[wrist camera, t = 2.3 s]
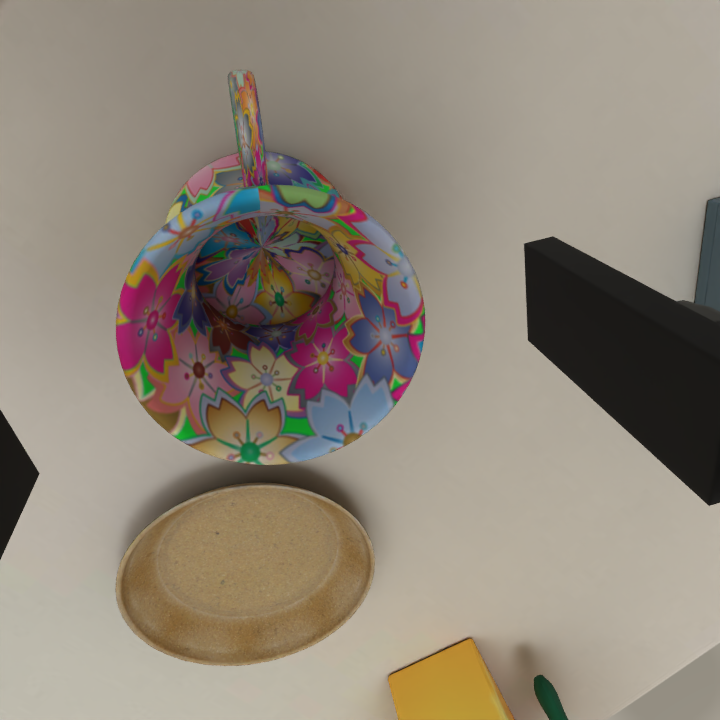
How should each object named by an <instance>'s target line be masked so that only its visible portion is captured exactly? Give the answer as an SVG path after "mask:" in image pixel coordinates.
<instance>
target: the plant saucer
mask: <svg viewBox="0 0 720 720" xmlns="http://www.w3.org/2000/svg"><path fill="white" fill-rule="evenodd" d="M374 566H375V557H374V551H373V547H372V543H371V541H370V538H369V536H368V534H367V532H366V531H365V529H364V528H363V527H362V525H361V524H360V523H359V521H358V520H357V519H356V518H355V517H354V516H353V515H352V514H351V513H349V512H348V511H347V510H346V509H344V508H343V507H342V506H340V505H339V504H337V503H336V502H334V501H332V500H330V499H328V498H326V497H324V496H322V495H319V494H317V493H314V492H312V491H309V490H306V489H302V488H299V487H295V486H290V485H284V484H276V483H245V484H237V485H231V486H226V487H222V488H218V489H214V490H211V491H208V492H205V493H202V494H200V495H197V496H195V497H192V498H190V499H188V500H186V501H184V502H182V503H180V504H178V505H177V506H175V507H173V508H172V509H170V510H168V511H167V512H165V513H164V514H162V515H161V516H159V517H158V518H157V519H155V520H154V521H153V522H152V523H150V524H149V525H148V526H147V527H146V528H145V529H144V530H143V531H142V532H141V533H140V534H139V535H138V536H137V537H136V538H135V540H134V541H133V542H132V544H131V545H130V546H129V548H128V549H127V551H126V553H125V555H124V557H123V559H122V561H121V563H120V566H119V570H118V573H117V578H116V598H117V603H118V608H119V610H120V612H121V614H122V617H123V619H124V620H125V622H126V623H127V625H128V626H129V627H130V629H131V630H132V631H133V632H134V633H135V634H136V635H137V636H138V637H139V638H140V639H142V640H143V641H144V642H146V643H147V644H148V645H149V646H151V647H153V648H154V649H156V650H158V651H161V652H163V653H165V654H167V655H170V656H173V657H175V658H178V659H181V660H184V661H190V662H194V663H199V664H205V665H222V666H239V665H250V664H256V663H261V662H268V661H271V660H276V659H279V658H282V657H285V656H288V655H291V654H294V653H296V652H299V651H301V650H304V649H306V648H308V647H310V646H312V645H314V644H316V643H318V642H320V641H321V640H323V639H325V638H326V637H328V636H329V635H330V634H332V633H333V632H335V631H336V630H337V629H338V628H340V627H341V626H342V625H343V624H344V623H346V621H347V620H348V619H350V618H351V616H352V615H353V614H354V613H355V612H356V610H357V609H358V608H359V607H360V605H361V604H362V602H363V601H364V599H365V597H366V595H367V593H368V591H369V589H370V586H371V583H372V580H373V574H374Z"/></svg>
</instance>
